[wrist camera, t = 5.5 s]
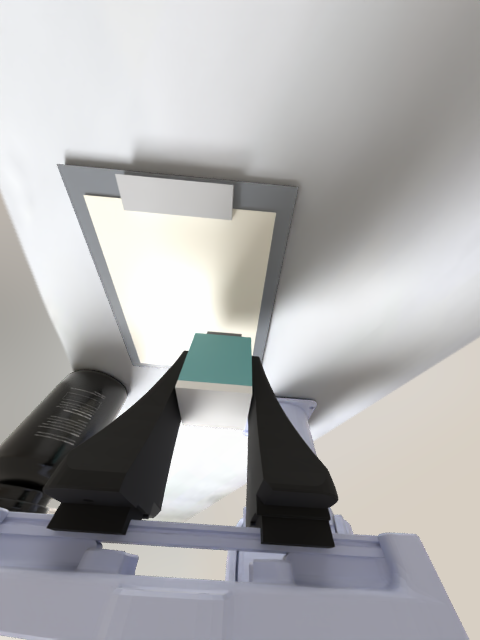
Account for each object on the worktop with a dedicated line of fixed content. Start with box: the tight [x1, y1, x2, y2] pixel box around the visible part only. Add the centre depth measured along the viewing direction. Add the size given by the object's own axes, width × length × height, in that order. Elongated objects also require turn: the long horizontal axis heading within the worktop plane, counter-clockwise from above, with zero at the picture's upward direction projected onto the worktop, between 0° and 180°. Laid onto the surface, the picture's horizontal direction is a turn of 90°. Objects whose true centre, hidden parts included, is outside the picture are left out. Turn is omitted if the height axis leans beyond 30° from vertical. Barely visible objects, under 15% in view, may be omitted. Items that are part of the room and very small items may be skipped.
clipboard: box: [57, 164, 298, 369], centre depth 14 cm, size 16×13×1 cm
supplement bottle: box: [0, 370, 127, 514], centre depth 17 cm, size 7×7×12 cm
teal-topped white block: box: [175, 331, 252, 430], centre depth 12 cm, size 4×4×5 cm
